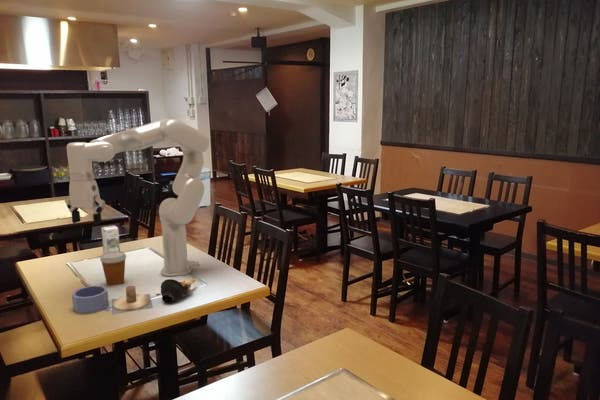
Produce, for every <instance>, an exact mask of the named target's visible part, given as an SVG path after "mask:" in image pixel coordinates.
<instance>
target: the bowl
mask: <svg viewBox="0 0 600 400" xmlns="http://www.w3.org/2000/svg"><path fill="white" fill-rule="evenodd" d="M71 299H72V300H71V301H72V309H73V311H74V312H76V313H78V314H92V313H97V312H100V311H103V310H104V309H107V307H108V306H109V290H108V287H106V286H104V285H97V284H96V285H88V286H83V287H81V288H77V289H76V290H74V291H72V292H71Z"/></svg>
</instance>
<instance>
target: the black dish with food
mask: <svg viewBox="0 0 600 400" xmlns="http://www.w3.org/2000/svg"><path fill="white" fill-rule="evenodd" d="M196 281H197V277H193V278H192V279H191V280H189V281H187V282H186V280H183V281H178V280H176V279H173V278H172V279H165V280H164V281H162V282H161V285H160V294H161V299H162V302H164V303H165V304H172V303H174V302H177V301H178V300H180V299H181V298H184V297H185V296H188V295H189V294H190V292H189V291H190V290H191V287H192V284H194V283H195V282H196ZM169 298H172V301H171V302H170V301H167V300H169Z"/></svg>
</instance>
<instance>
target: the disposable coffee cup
mask: <svg viewBox="0 0 600 400" xmlns="http://www.w3.org/2000/svg"><path fill="white" fill-rule="evenodd" d="M126 258H127V255H126V252H124V251H113V252H107V253H104V254H103V253H102V254H101V255H100V258H99V260H100V262H101V264H102V269H103V274H104V277H105V281H106V286H108V287H110V286H119V285H124V284H125V270H126Z"/></svg>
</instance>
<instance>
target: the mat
mask: <svg viewBox="0 0 600 400" xmlns="http://www.w3.org/2000/svg"><path fill="white" fill-rule="evenodd" d="M144 295H147V296H148V297H149V298H150V302H149V304H148V305H147V306H145V307H143V308H140V309H137V310H131V311H120V310H116V309H115V308H114V307H113V302H114V301H115V300H116V299H117V298H112V299H111V314H112V315H116V314H123V313H129V312H130V313H131V312H134V311H135V312H136V311H142V310H147V309H148V310H149V309H153V308H154V307H153V302H152V299H151V298H152V297H151V294H150V293H146V294H144Z"/></svg>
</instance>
